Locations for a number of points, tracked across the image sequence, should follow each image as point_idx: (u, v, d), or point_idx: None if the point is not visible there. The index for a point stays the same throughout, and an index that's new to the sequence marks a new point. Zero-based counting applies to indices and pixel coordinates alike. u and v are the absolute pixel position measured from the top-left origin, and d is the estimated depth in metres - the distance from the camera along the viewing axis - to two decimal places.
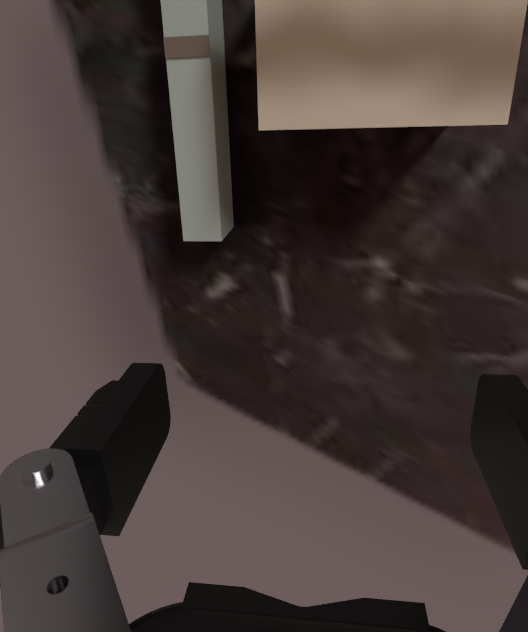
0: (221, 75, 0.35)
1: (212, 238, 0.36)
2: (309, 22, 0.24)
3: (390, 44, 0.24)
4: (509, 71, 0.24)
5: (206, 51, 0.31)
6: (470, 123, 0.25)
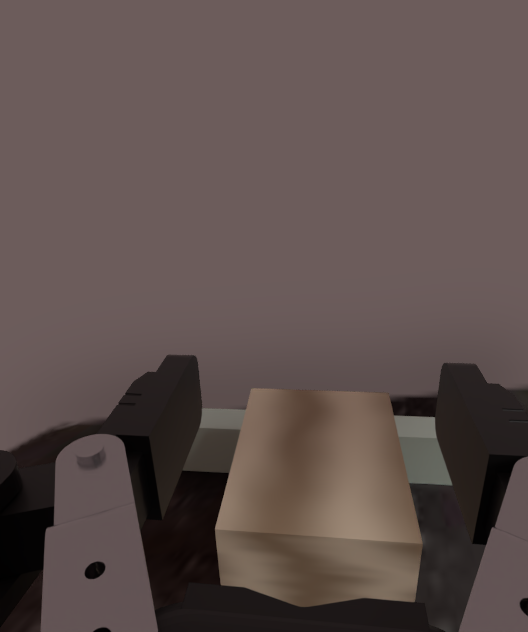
0: None
1: None
2: (318, 412, 0.32)
3: (298, 450, 0.29)
4: (264, 527, 0.24)
5: None
6: (223, 501, 0.25)
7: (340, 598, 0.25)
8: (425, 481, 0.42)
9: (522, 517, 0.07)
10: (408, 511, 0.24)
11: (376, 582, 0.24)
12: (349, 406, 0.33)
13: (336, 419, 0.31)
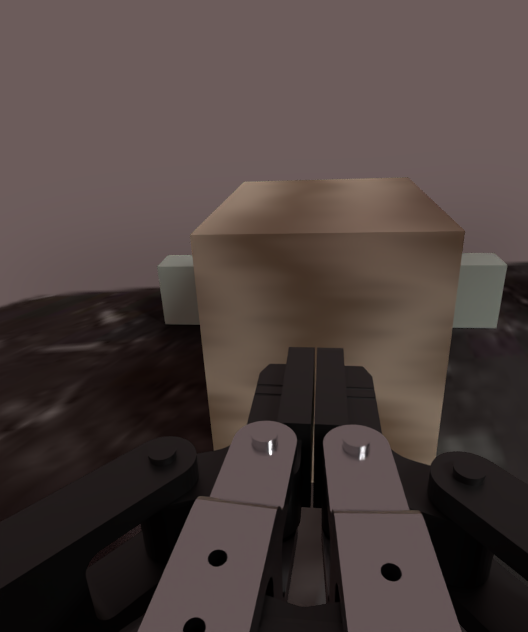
0: None
1: (162, 263, 0.38)
2: (323, 187, 0.27)
3: (299, 201, 0.23)
4: (254, 231, 0.18)
5: None
6: (203, 223, 0.20)
7: (354, 337, 0.19)
8: None
9: (346, 488, 0.08)
10: (442, 219, 0.19)
11: (401, 306, 0.18)
12: (362, 183, 0.27)
13: (345, 188, 0.26)
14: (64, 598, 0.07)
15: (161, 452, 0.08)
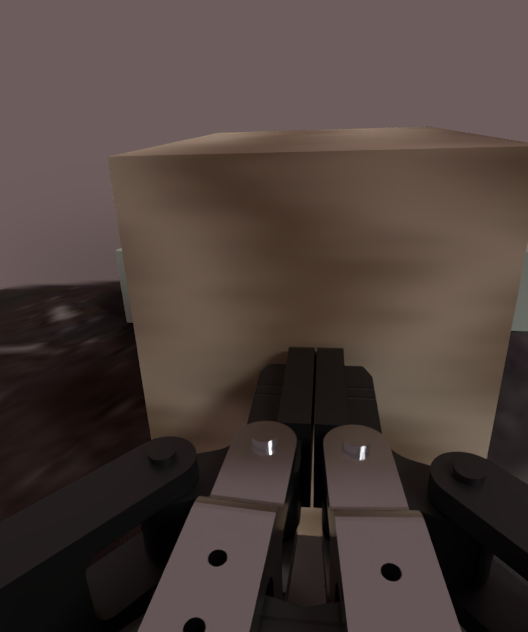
0: None
1: None
2: (319, 132, 0.20)
3: (285, 138, 0.17)
4: (209, 153, 0.11)
5: None
6: (138, 150, 0.13)
7: (362, 322, 0.12)
8: None
9: (346, 488, 0.08)
10: (499, 141, 0.12)
11: (437, 272, 0.12)
12: None
13: (348, 132, 0.19)
14: (64, 598, 0.07)
15: (161, 452, 0.08)
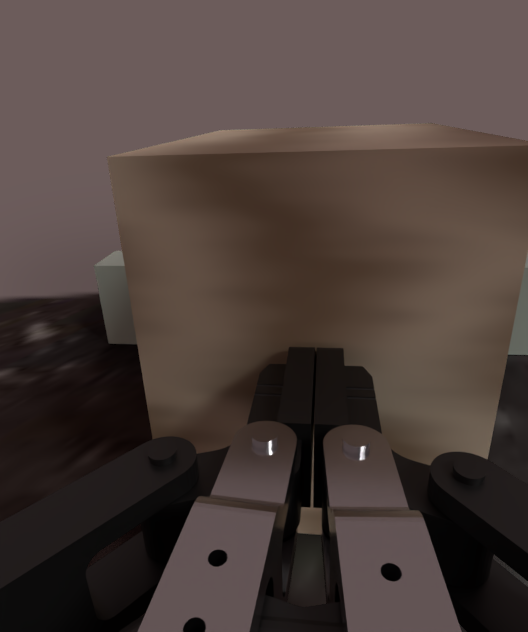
0: None
1: (102, 262, 0.28)
2: (321, 129, 0.20)
3: (286, 136, 0.17)
4: (208, 153, 0.11)
5: None
6: None
7: (363, 322, 0.12)
8: None
9: (346, 488, 0.08)
10: (502, 139, 0.12)
11: (438, 272, 0.12)
12: (372, 126, 0.21)
13: (350, 129, 0.19)
14: (64, 598, 0.07)
15: (162, 453, 0.08)
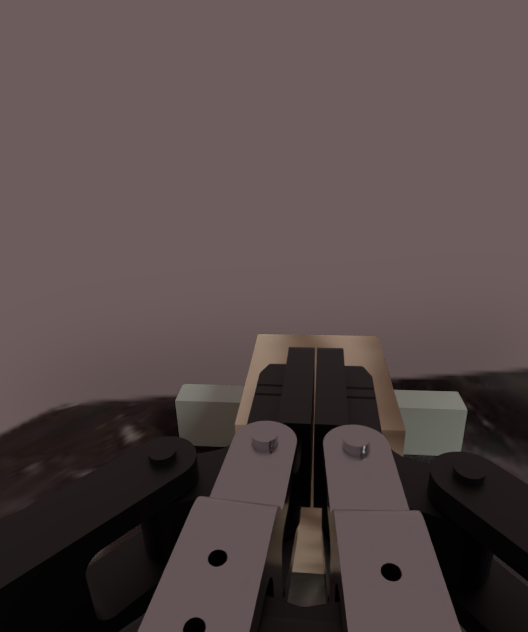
0: None
1: (179, 396, 0.44)
2: None
3: None
4: None
5: None
6: (240, 407, 0.30)
7: None
8: (420, 452, 0.43)
9: (346, 488, 0.08)
10: (394, 411, 0.29)
11: None
12: (344, 345, 0.38)
13: None
14: (64, 598, 0.07)
15: (162, 453, 0.08)
